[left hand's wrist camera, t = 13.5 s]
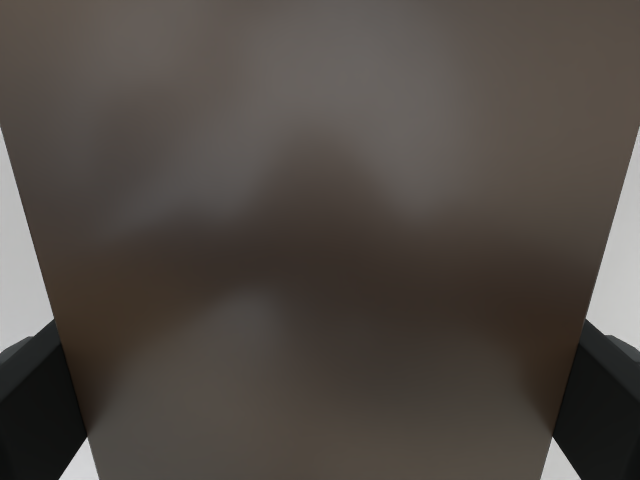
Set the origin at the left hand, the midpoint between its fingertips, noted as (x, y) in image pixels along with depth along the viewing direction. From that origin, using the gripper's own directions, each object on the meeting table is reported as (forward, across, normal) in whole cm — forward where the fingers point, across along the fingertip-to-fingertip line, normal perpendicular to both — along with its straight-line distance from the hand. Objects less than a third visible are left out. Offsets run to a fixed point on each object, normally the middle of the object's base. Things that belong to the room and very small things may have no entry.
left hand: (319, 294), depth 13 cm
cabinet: (+4, 0, -4) cm, 5 cm away
